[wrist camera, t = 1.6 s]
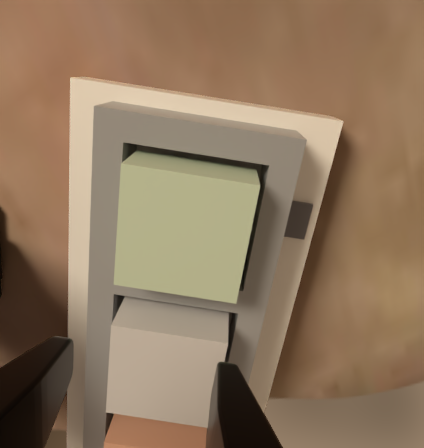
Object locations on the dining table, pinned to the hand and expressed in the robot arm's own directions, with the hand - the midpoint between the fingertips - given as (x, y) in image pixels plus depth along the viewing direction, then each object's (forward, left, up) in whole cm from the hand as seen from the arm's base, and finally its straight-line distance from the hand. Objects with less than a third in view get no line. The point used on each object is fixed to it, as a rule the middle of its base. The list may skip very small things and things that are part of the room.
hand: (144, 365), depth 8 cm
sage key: (0, 0, -9) cm, 9 cm away
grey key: (0, -7, -9) cm, 12 cm away
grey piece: (0, -7, -13) cm, 15 cm away
